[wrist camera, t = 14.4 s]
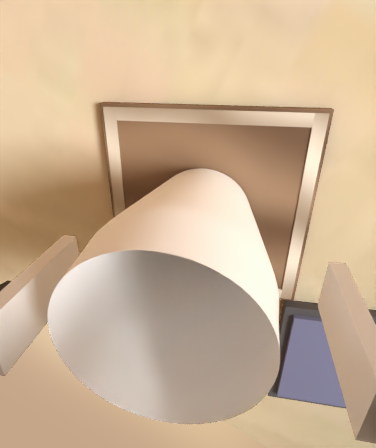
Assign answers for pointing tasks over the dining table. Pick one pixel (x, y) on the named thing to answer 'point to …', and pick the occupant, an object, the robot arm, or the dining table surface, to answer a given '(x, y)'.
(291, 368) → the ink pad
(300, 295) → the dining table surface
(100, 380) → the cup
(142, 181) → the marked board
